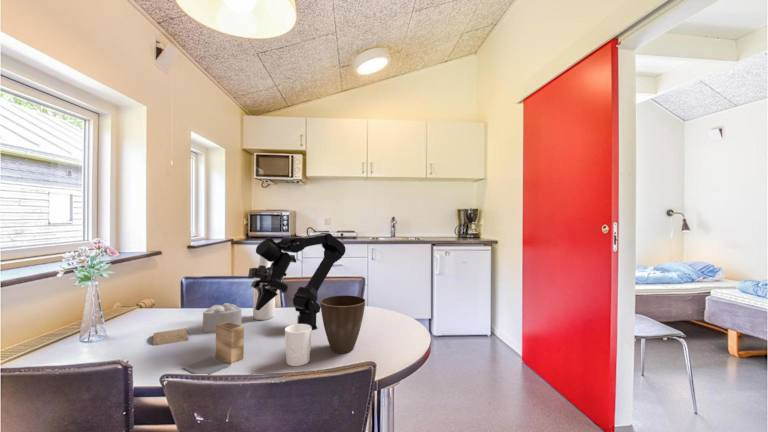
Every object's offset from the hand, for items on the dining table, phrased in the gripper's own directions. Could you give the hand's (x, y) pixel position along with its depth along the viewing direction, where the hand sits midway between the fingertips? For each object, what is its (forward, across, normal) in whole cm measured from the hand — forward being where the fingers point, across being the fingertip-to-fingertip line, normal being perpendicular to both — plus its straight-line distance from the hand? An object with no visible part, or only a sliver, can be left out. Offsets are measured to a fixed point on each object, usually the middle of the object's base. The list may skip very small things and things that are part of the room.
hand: (256, 309), depth 106 cm
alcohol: (-2, -31, +16) cm, 35 cm away
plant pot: (+2, +17, +26) cm, 32 cm away
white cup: (+10, +17, +13) cm, 23 cm away
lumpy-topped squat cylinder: (+8, -29, +2) cm, 30 cm away
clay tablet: (+18, -30, -13) cm, 37 cm away
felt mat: (+20, +3, -7) cm, 21 cm away
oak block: (+16, +2, -1) cm, 16 cm away
